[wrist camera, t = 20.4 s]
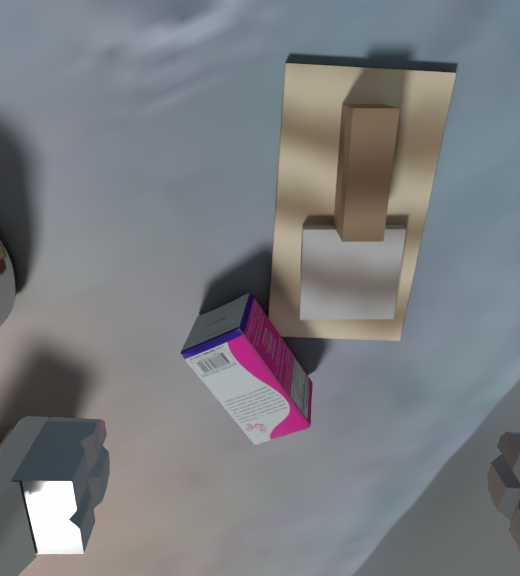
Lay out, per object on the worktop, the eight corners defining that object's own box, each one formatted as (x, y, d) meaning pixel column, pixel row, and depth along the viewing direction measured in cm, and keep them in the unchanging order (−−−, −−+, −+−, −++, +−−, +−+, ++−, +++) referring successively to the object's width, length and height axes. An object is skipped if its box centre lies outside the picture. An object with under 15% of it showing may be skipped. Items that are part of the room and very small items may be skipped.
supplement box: (197, 313, 41) (262, 402, 46) (178, 354, 36) (252, 449, 40) (252, 288, 39) (314, 384, 43) (240, 328, 34) (311, 431, 38)
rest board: (285, 63, 33) (285, 63, 32) (451, 72, 33) (456, 72, 32) (267, 331, 42) (267, 336, 41) (397, 336, 42) (399, 340, 42)
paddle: (307, 104, 33) (314, 108, 29) (418, 104, 33) (438, 108, 30) (298, 313, 40) (302, 337, 37) (389, 312, 40) (402, 336, 37)
